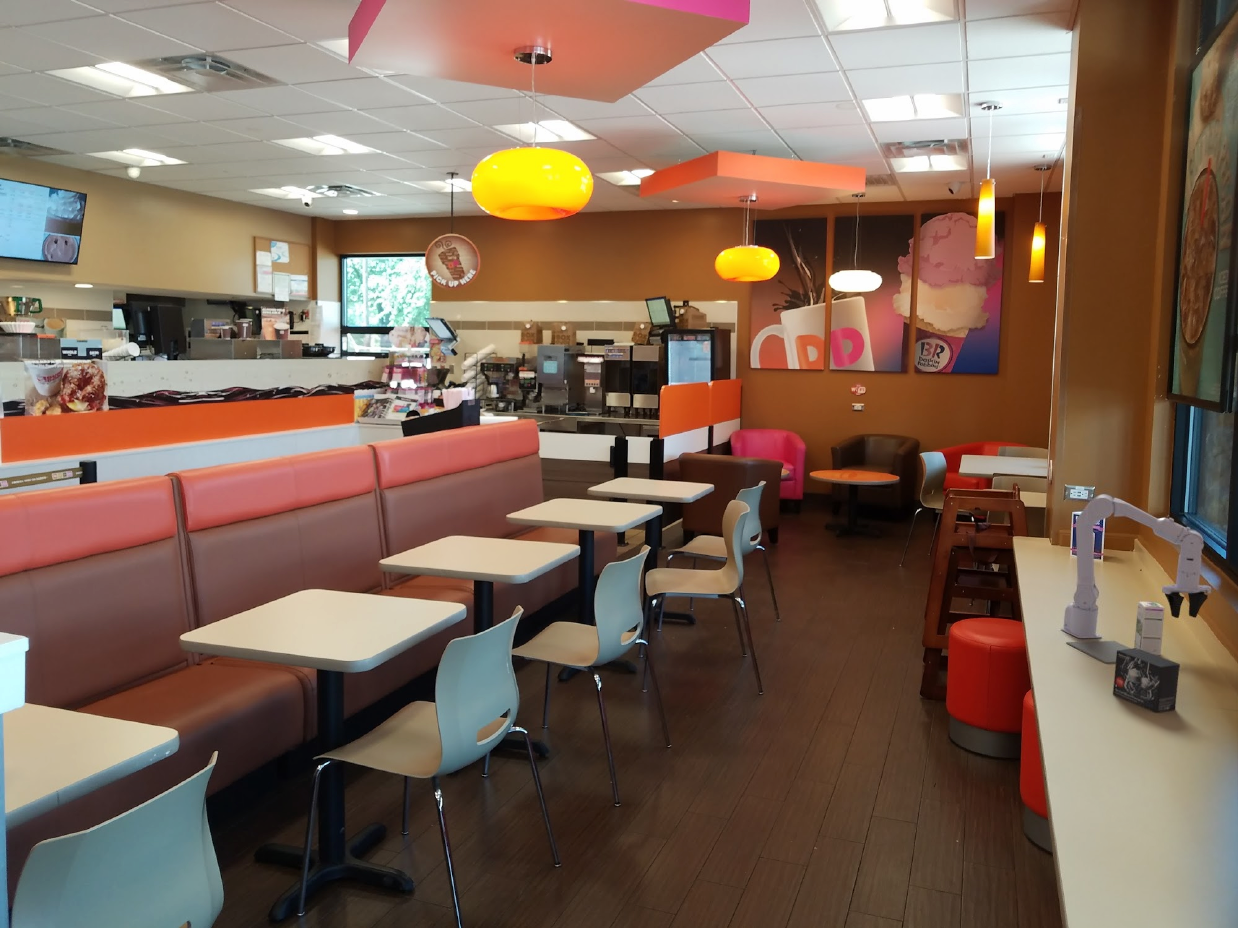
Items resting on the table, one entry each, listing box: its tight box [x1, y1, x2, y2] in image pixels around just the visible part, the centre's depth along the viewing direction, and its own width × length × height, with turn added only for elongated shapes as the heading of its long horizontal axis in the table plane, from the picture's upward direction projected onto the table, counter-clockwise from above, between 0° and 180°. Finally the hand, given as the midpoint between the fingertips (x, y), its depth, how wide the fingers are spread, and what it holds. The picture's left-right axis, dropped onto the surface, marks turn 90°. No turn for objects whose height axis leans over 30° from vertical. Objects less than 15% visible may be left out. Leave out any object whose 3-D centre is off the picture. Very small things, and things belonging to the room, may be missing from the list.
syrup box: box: [1133, 601, 1165, 656], centre depth 278 cm, size 6×6×14 cm
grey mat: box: [1065, 640, 1132, 664], centre depth 277 cm, size 18×16×1 cm
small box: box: [1112, 647, 1181, 714], centre depth 238 cm, size 13×7×12 cm, turn 21°
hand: (1183, 616), depth 280 cm, fingers open, 5 cm apart
